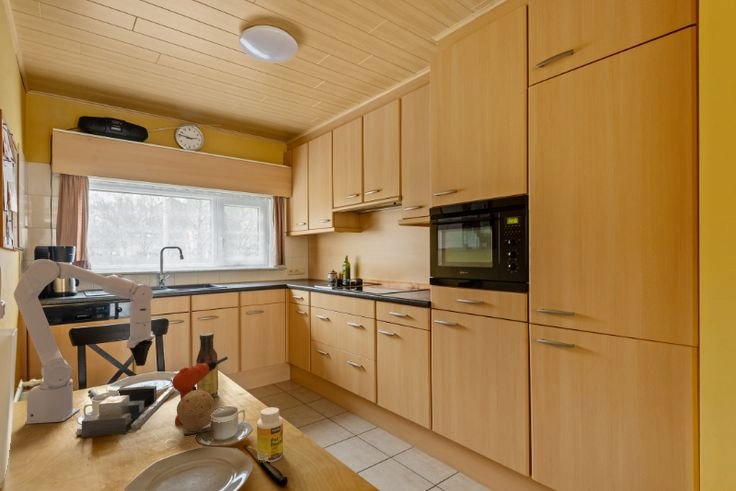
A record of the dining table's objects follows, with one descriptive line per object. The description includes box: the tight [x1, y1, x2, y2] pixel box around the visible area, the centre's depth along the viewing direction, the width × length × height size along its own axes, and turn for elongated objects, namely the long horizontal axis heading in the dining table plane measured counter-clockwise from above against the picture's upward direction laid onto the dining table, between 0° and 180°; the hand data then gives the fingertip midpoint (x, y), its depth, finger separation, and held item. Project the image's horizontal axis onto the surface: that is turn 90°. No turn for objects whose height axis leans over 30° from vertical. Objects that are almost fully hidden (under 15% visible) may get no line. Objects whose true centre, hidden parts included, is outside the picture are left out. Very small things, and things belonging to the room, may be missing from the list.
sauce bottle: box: [195, 332, 219, 399], centre depth 121 cm, size 6×6×20 cm
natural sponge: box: [176, 390, 216, 432], centre depth 99 cm, size 9×9×10 cm
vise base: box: [76, 386, 175, 438], centre depth 110 cm, size 14×30×4 cm, turn 9°
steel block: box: [98, 395, 129, 415], centre depth 101 cm, size 5×5×7 cm
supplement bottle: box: [256, 407, 284, 464], centre depth 85 cm, size 6×6×10 cm
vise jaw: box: [116, 385, 158, 421], centre depth 110 cm, size 10×12×5 cm
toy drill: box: [171, 356, 229, 427], centre depth 109 cm, size 5×19×15 cm, turn 154°
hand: (140, 365), depth 122 cm, fingers closed
